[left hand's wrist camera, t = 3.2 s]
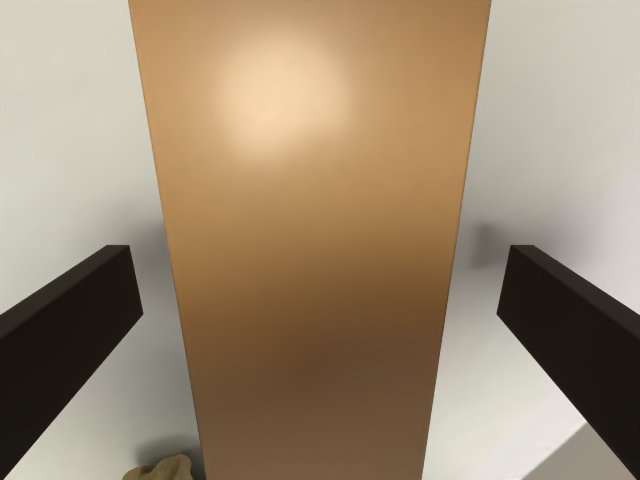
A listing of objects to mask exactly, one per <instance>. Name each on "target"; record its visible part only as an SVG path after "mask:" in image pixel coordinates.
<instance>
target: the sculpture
mask: <svg viewBox="0 0 640 480" xmlns="http://www.w3.org/2000/svg"><path fill="white" fill-rule="evenodd" d="M191 466H192V463H191V460H190V458H189V457H188V456H186V455H184V454H178V455H175V456H171V457H167V458H164V459H162V460H161V461H160V462H159V463H158V464H157V465H156V467H155V468H153V467H152V466H148V465H144V466H140V467H137V468H135V469H133V470H131V471H129V472H127V473H126V474H125V475H124V476H123V479H122V480H193V478H192V476H191V474H190V470H191Z"/></svg>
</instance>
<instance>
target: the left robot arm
mask: <svg viewBox="0 0 640 480" xmlns="http://www.w3.org/2000/svg"><path fill="white" fill-rule="evenodd" d="M142 315H143V309H142V304H141V300H140V295H139V290H138V285H137V280H136V275H135V271H134V266H133V261H132V256H131V251H130V246H129V245H106V246H105V247H103V248H102V249H100V250H99V251H97V252H96V253H94V254H93V255H91V256H90V257H88V258H87V259H85V260H84V261H82V262H80V263H79V264H77V265H76V266H74V267H73V268H71V269H70V270H68V271H67V272H65V273H64V274H62V275H61V276H59V277H58V278H56V279H55V280H53V281H52V282H50V283H48V284H47V285H45V286H44V287H42V288H41V289H39V290H38V291H36V292H35V293H33V294H32V295H30V296H29V297H27V298H26V299H24V300H23V301H21V302H20V303H18V304H16V305H15V306H13V307H12V308H10V309H9V310H7V311H6V312H4V313H3V314H1V315H0V480H4V478H5V477H6V476H7V475H8V474H9V472H10V471H11V470H12V469H13V468H14V467H15V465H16V464H17V463H18V462H19V461H20V459H21V458H22V457H23V456H24V455H25V454H26V452H27V451H28V450H29V449H30V448H31V446H32V445H33V444H34V443H35V442H36V441H37V439H38V438H39V437H40V436H41V435H42V433H43V432H44V431H45V430H46V429H47V428H48V426H49V425H50V424H51V423H52V422H53V420H54V419H55V418H56V417H57V416H58V415H59V413H60V412H61V411H62V410H63V409H64V407H65V406H66V405H67V404H68V403H69V402H70V400H71V399H72V398H73V397H74V396H75V394H76V393H77V392H78V391H79V390H80V389H81V387H82V386H83V385H84V384H85V383H86V381H87V380H88V379H89V378H90V377H91V375H92V374H93V373H94V372H95V371H96V370H97V368H98V367H99V366H100V365H101V364H102V362H103V361H104V360H105V359H106V358H107V357H108V355H109V354H110V353H111V352H112V351H113V349H114V348H115V347H116V346H117V345H118V344H119V342H120V341H121V340H122V339H123V338H124V336H125V335H126V334H127V333H128V332H129V331H130V329H131V328H132V327H133V326H134V325H135V323H136V322H137V321H138V320H139V319H140V318H141V316H142ZM497 315H498V316H499V318H500V319H501V320H502V321H503V322H504V323H505V325H506V326H507V327H508V328H509V329H510V331H511V332H512V333H513V334H514V335H515V336H516V338H517V339H518V340H519V341H520V342H521V344H522V345H523V346H524V347H525V348H526V349H527V351H528V352H529V353H530V354H531V355H532V357H533V358H534V359H535V360H536V361H537V362H538V364H539V365H540V366H541V367H542V368H543V370H544V371H545V372H546V373H547V374H548V375H549V377H550V378H551V379H552V380H553V381H554V383H555V384H556V385H557V386H558V387H559V389H560V390H561V391H562V392H563V393H564V394H565V396H566V397H567V398H568V399H569V400H570V402H571V403H572V404H573V405H574V406H575V407H576V409H577V410H578V411H579V412H580V413H581V415H582V416H583V417H584V418H585V419H586V420H587V422H588V423H589V424H590V425H591V426H592V428H593V429H594V430H595V431H596V432H597V433H598V435H599V436H600V437H601V438H602V439H603V441H604V442H605V443H606V444H607V445H608V446H609V448H610V449H611V450H612V451H613V452H614V454H615V455H616V456H617V457H618V458H619V459H620V461H621V462H622V463H623V464H624V465H625V466H626V468H627V469H628V470H629V471H630V472H631V474H632V475H633V476H634V477H635V478H636V480H640V315H639V314H637V313H636V312H634V311H633V310H631V309H630V308H628V307H627V306H625V305H624V304H622V303H620V302H619V301H617V300H616V299H614V298H613V297H611V296H610V295H608V294H607V293H605V292H604V291H602V290H601V289H599V288H598V287H596V286H595V285H593V284H592V283H590V282H588V281H587V280H585V279H584V278H582V277H581V276H579V275H578V274H576V273H575V272H573V271H572V270H570V269H569V268H567V267H566V266H564V265H563V264H561V263H560V262H558V261H556V260H555V259H553V258H552V257H550V256H549V255H547V254H546V253H544V252H543V251H541V250H540V249H538V248H537V247H535V246H534V245H511V246H510V251H509V256H508V261H507V266H506V271H505V275H504V280H503V285H502V290H501V295H500V300H499V304H498V309H497Z"/></svg>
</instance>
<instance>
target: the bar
mask: <svg viewBox="0 0 640 480" xmlns="http://www.w3.org/2000/svg"><path fill="white" fill-rule="evenodd" d="M128 3H129V9H130V16H131V22H132V28H133V34H134V40H135V46H136V52H137V58H138V65H139V71H140V77H141V83H142V89H143V95H144V101H145V107H146V113H147V120H148V126H149V132H150V138H151V144H152V150H153V156H154V162H155V169H156V175H157V181H158V187H159V193H160V199H161V205H162V211H163V217H164V224H165V230H166V236H167V242H168V248H169V254H170V260H171V266H172V272H173V279H174V285H175V291H176V297H177V303H178V309H179V315H180V321H181V328H182V334H183V340H184V346H185V352H186V358H187V364H188V370H189V376H190V383H191V389H192V395H193V401H194V407H195V413H196V419H197V425H198V432H199V438H200V444H201V450H202V456H203V462H204V468H205V474H206V480H422V473H423V466H424V459H425V452H426V445H427V438H428V432H429V425H430V418H431V411H432V404H433V397H434V390H435V384H436V377H437V370H438V363H439V356H440V349H441V343H442V336H443V329H444V322H445V315H446V308H447V301H448V295H449V288H450V281H451V274H452V267H453V260H454V253H455V247H456V240H457V233H458V226H459V219H460V212H461V205H462V199H463V192H464V185H465V178H466V171H467V164H468V157H469V151H470V144H471V137H472V130H473V123H474V116H475V109H476V103H477V96H478V89H479V82H480V75H481V68H482V61H483V55H484V48H485V41H486V34H487V27H488V20H489V14H490V7H491V0H128Z"/></svg>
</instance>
